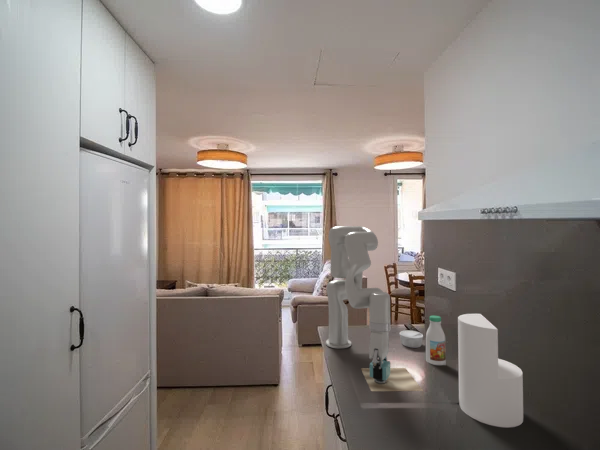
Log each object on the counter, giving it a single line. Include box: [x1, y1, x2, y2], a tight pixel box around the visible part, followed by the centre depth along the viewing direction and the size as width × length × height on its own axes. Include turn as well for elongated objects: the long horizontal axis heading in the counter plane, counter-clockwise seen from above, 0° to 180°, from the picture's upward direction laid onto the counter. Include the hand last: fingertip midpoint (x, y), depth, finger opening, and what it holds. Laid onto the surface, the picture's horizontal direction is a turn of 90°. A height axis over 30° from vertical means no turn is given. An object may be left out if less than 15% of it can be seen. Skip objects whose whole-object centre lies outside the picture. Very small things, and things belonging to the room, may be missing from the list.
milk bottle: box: [425, 315, 447, 366], centre depth 133 cm, size 8×8×20 cm
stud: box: [374, 379, 387, 384], centre depth 116 cm, size 4×4×6 cm
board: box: [360, 367, 424, 392], centre depth 118 cm, size 18×18×1 cm
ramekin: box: [399, 329, 424, 349], centre depth 156 cm, size 11×11×5 cm
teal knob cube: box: [369, 360, 391, 380], centre depth 116 cm, size 6×6×5 cm
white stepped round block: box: [457, 313, 524, 428], centre depth 100 cm, size 17×17×28 cm
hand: (380, 374), depth 116 cm, fingers closed on teal knob cube, 6 cm apart
